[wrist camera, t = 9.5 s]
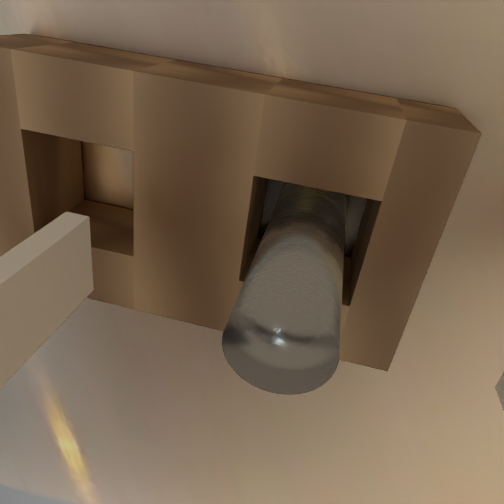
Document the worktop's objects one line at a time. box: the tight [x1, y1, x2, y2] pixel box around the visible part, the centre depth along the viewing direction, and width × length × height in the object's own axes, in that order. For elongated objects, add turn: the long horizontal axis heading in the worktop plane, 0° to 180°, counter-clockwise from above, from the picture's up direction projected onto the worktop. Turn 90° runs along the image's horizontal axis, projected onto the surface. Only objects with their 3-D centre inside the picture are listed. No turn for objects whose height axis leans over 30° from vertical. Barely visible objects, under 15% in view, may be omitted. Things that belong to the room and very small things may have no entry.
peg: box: [222, 182, 347, 394], centre depth 16 cm, size 3×3×10 cm
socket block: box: [0, 34, 482, 371], centre depth 19 cm, size 18×10×4 cm, turn 82°
